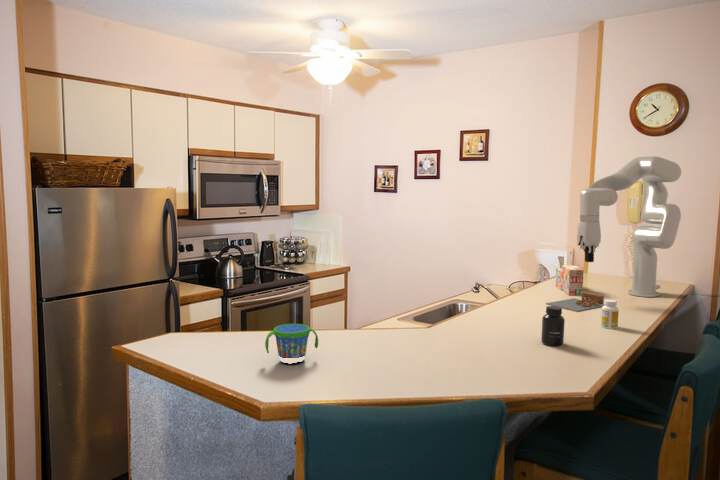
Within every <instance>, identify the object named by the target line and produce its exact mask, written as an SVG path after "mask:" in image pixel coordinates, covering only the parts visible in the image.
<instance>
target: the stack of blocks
mask: <svg viewBox="0 0 720 480" xmlns="http://www.w3.org/2000/svg"><path fill="white" fill-rule="evenodd" d="M555 286H556V287H555V288H558V290H560V291H562V292H563V293H564V294H566V295H567V296H571V297H573V296H577V295H578V296H577V297H579V295H580V296H581V297H582V292H584V291H583V289H584V287H583V286H584V269H582V268H581V267H579V266H577V265H575V264H574V265H566V264H565V265H563V264H562V265H561V268H556V269H555Z"/></svg>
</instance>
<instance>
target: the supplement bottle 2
mask: <svg viewBox="0 0 720 480" xmlns="http://www.w3.org/2000/svg"><path fill="white" fill-rule="evenodd" d="M603 305H605V306H603V307H601V323H600V324H601V327H602V328H604V329H609V330H615V329H618V327H619V313H620V312H619V307H618V306H617V305H618V301H617V300H614V299H604V303H603Z"/></svg>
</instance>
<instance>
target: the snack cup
mask: <svg viewBox="0 0 720 480" xmlns="http://www.w3.org/2000/svg"><path fill="white" fill-rule="evenodd" d="M310 332H312V333H313V335H315V339H314V348H315V349H318V347H319V337H318V334H317V332H316V331H315V330H314V329H312V327H310V326H308V325H307V324H302V323H287V324H286V323H284V324H280V325H278V326H275V327H274V328H273V330H271V331H270V332H269V333H268V334H267V336H266V339H265V341H264V345H265V349H266V352H267V354H269V353H270V351H269V343H270V342H269V339H270V338H271V337H272V336H273V335H274V337H275V341H276V349H277V354H278V357H279V356H280V357H282V358H299V357H303V356H305V355H307V349H308V348H307V347H308V339H309V336H310ZM305 357H306V356H305Z"/></svg>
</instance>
